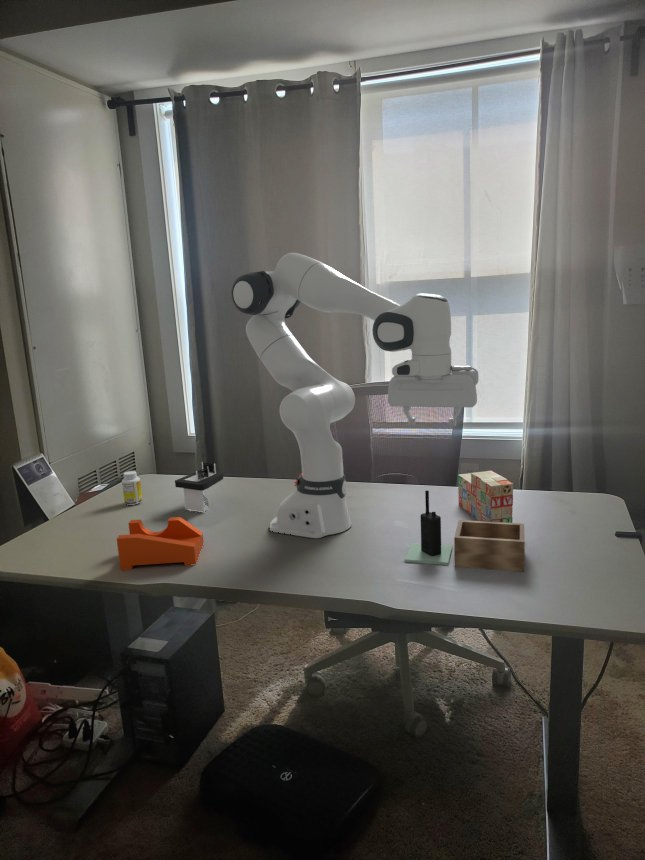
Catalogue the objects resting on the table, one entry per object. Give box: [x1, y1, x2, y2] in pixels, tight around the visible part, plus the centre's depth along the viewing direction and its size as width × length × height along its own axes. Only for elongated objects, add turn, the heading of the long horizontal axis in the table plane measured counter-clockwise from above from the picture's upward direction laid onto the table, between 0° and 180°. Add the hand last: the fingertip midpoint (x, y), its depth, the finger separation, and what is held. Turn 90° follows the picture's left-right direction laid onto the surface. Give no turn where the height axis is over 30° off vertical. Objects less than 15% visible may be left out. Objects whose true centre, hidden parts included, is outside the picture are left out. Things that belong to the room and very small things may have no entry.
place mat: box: [404, 542, 453, 566], centre depth 147 cm, size 10×10×1 cm
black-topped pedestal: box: [174, 461, 224, 512], centre depth 188 cm, size 28×26×13 cm
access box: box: [453, 519, 526, 573], centre depth 142 cm, size 15×11×7 cm
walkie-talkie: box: [420, 490, 442, 556], centre depth 145 cm, size 5×3×15 cm
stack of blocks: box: [457, 470, 514, 523], centre depth 169 cm, size 21×6×12 cm, turn 11°
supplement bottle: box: [121, 470, 143, 506], centre depth 196 cm, size 6×6×10 cm
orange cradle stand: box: [116, 516, 205, 571], centre depth 154 cm, size 18×13×8 cm
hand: (432, 425), depth 143 cm, fingers open, 8 cm apart
